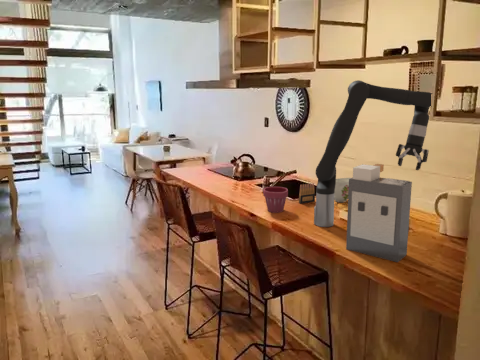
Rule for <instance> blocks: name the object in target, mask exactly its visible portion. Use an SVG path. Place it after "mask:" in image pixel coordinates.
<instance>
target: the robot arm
mask: <svg viewBox="0 0 480 360" xmlns="http://www.w3.org/2000/svg"><path fill="white" fill-rule="evenodd" d="M347 94H348V96H347V100H346V103H345V106H344V109H343V110H342V112H341V113H340V114H339V116H338V118H337V120H335V123H334V125H333V126H332V130H331V132H330V135H329V137H328V140H327V144H326V147H325V150H324V152H323V154H322V157H321V158H320V160H319V163H318V165H317V166H316V168H315V177H316V178H317V185H316V190H315V191H316V193H315V205H314V208H313V209H314V211H313V225H316V226H317V227H322V228H323V227H324V228H330V227H333V226H334V224H335V223H334V221H335V218H334V217H335V200H334V194H335V185H336V179H337V167H336V165H337V162H338V159H339V158H340V156H341V154H342V152H343V151H344V149H346V147H347V144H348V143H349V140H350V138H351V136H352V133H353V131H354V129H355V126H356V124H357V123H356V122H357V120H358V116H359V114H360V112H361V110H362V108H363V107H364V104H365V103H366V100H367V99H368V100H369V99H371V100H378V101H383V102H387V103H390V104H391V103H392V104H396V105H402V106H414V109H413V117H412V120H411V125H410V127H409V130H408V134H407V138H406V142H405V145H404V144H402V143H399V144H398V146H397V150H396V151H395V152H396V153H395V156H396V157H397V158H398V161H397V165H398V166H399V167H402V166H403V160H404V157H406V156H412V157H415V158H416V160H417V163H416V167H415V170H416V171H419V170H421V166H422V165H423V163H427V161H428V156H429V152H430V150H429V149H427V148H425V149H424V148H423V146H424V143H425V140H426V135H427V130H428V124H429V121H430V116H429V110H430V108H431V107H432V106H431V94H433V93H431V92H429V91H418V90H416V91H415V90H410V89H404V88H403V89H402V88H396V87H395V88H394V87H385V86H379V85H375V84H370V83H368V82H364V81H362V80H354V81H352V82H351V83H350V84H349V85H348V87H347ZM430 106H431V107H430ZM402 150H404V151H403V152H402ZM421 153H422V154H423V155H422V156H421Z"/></svg>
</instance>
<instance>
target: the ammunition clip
mask: <svg viewBox="0 0 480 360" xmlns="http://www.w3.org/2000/svg"><path fill="white" fill-rule="evenodd" d="M313 202H314V203H316V193H315V183H314V182H312V183H310V184H309V182H308V183H305V184H304V183H303V184H300V186H299V195H298V203H299V204H308V203H313Z"/></svg>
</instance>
